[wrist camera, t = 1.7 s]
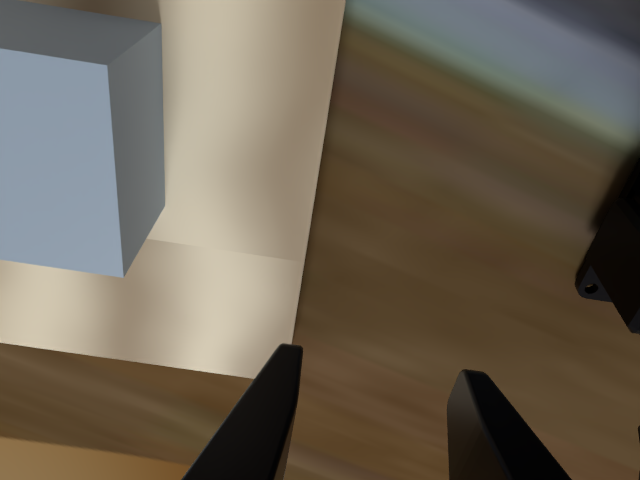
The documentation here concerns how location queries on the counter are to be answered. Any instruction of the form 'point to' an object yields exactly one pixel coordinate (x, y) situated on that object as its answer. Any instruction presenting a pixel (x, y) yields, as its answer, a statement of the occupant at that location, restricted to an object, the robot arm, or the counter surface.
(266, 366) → the robot arm
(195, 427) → the counter surface
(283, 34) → the trap board
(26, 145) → the block
